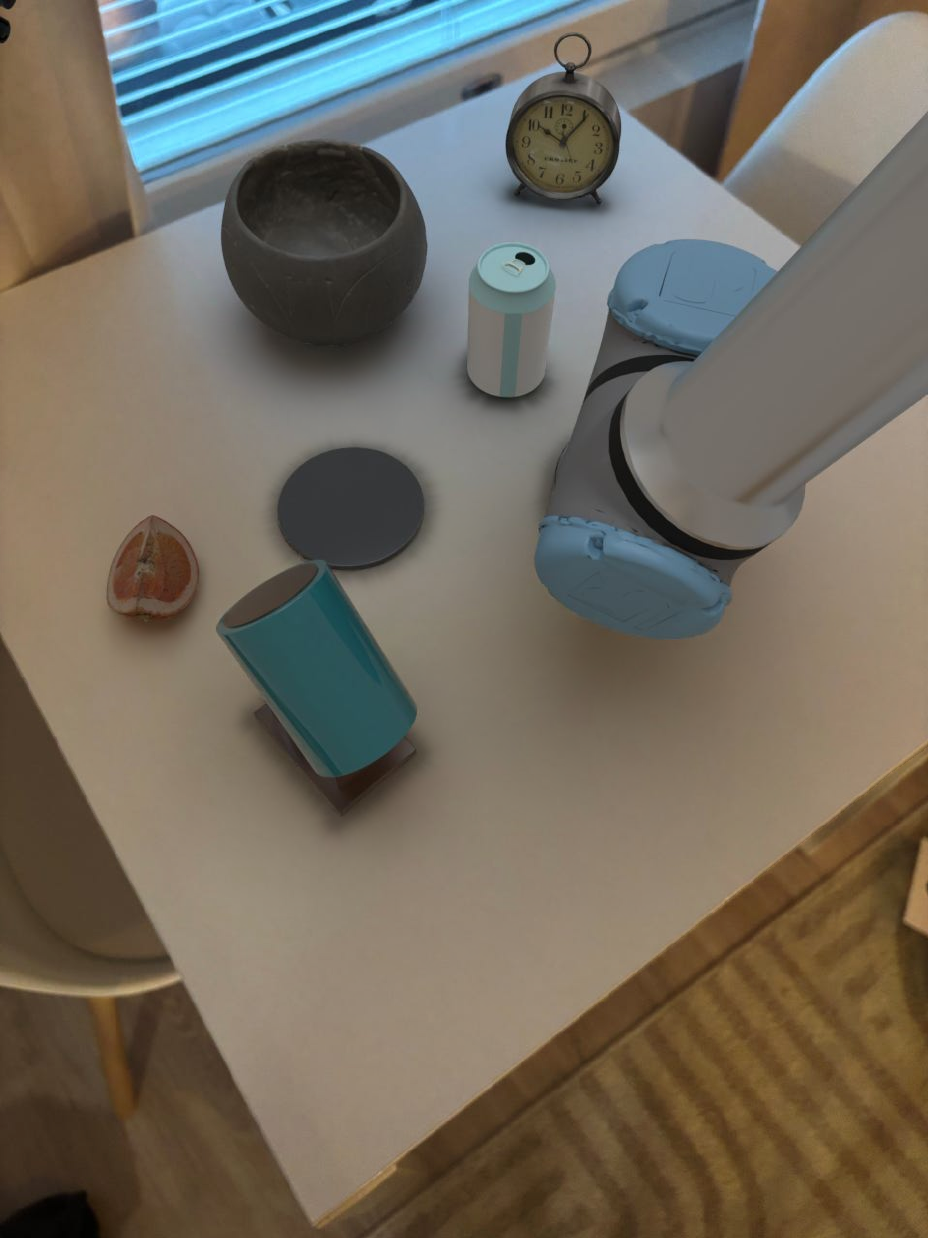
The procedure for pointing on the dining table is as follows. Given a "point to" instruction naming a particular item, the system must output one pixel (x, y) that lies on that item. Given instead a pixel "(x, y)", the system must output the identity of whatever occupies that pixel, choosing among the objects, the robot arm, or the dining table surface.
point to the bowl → (323, 241)
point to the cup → (319, 669)
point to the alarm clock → (564, 134)
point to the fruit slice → (152, 572)
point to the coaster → (351, 508)
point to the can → (509, 319)
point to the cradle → (341, 788)
